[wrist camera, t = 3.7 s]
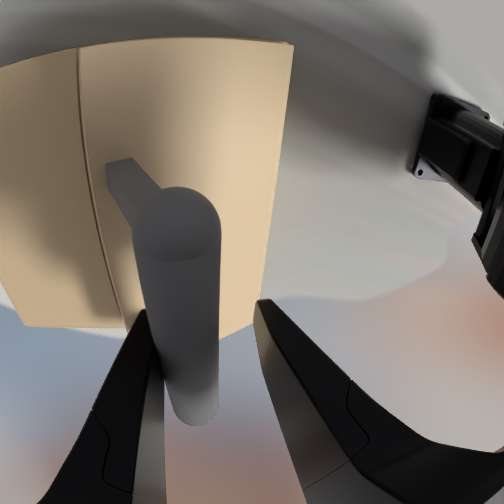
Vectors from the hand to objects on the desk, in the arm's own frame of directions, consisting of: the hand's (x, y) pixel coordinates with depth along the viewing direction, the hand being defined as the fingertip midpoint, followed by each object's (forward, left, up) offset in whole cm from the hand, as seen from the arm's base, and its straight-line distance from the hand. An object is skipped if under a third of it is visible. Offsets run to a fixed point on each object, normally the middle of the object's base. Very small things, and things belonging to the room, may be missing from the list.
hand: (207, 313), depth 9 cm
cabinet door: (0, 0, -4) cm, 4 cm away
